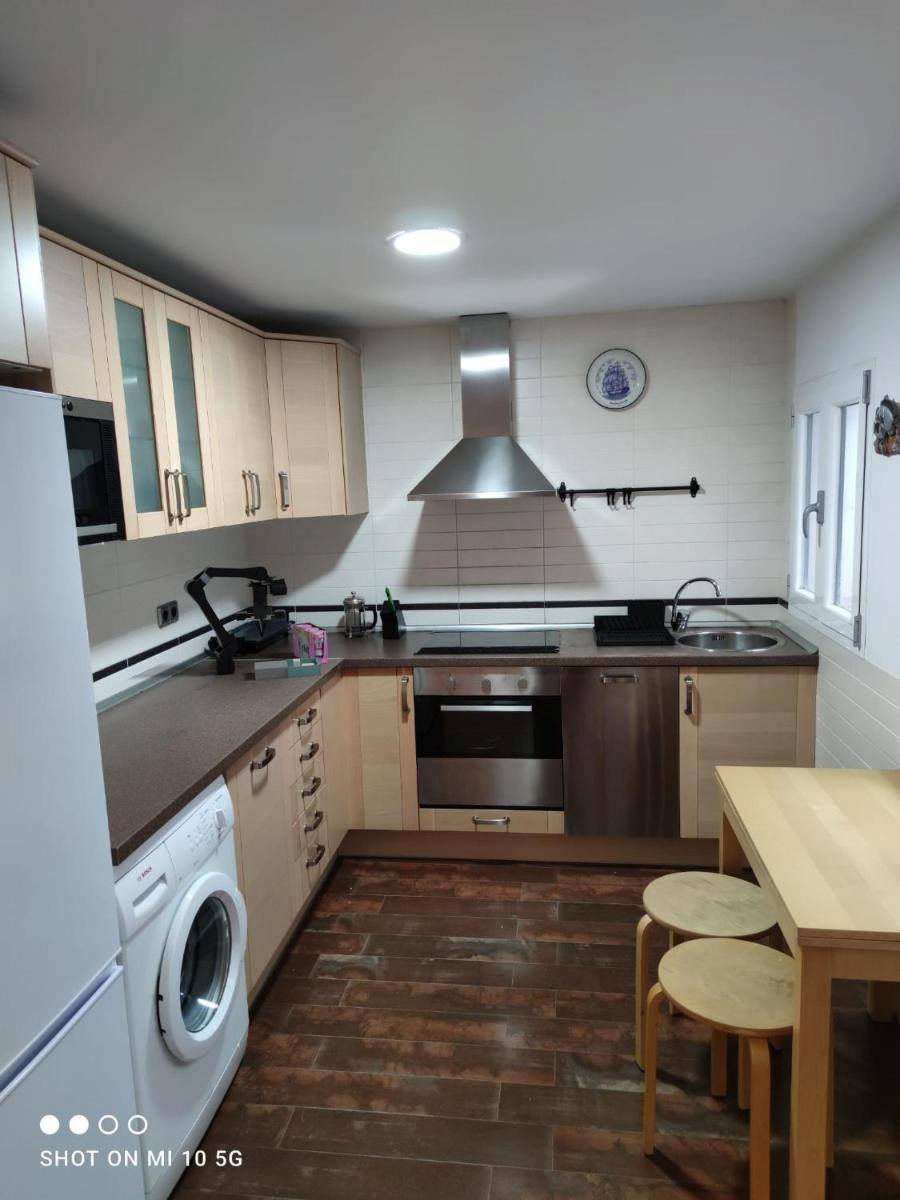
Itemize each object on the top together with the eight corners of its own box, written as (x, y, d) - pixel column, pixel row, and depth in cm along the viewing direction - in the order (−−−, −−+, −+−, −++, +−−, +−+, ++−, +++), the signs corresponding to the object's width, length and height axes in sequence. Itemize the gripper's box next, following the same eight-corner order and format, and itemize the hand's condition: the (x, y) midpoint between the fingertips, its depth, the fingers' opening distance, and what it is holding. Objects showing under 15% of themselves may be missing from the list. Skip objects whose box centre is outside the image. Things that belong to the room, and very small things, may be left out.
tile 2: (314, 665, 298) (314, 671, 298) (313, 663, 302) (313, 669, 303) (302, 666, 297) (302, 672, 297) (301, 663, 301) (302, 670, 302)
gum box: (329, 663, 314) (328, 630, 312) (310, 666, 311) (309, 632, 309) (311, 653, 335) (309, 622, 333) (293, 655, 332) (291, 623, 330)
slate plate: (255, 679, 290) (254, 669, 289) (254, 672, 301) (254, 662, 301) (288, 677, 293) (287, 666, 292) (286, 670, 304) (286, 660, 304)
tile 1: (293, 661, 296) (300, 661, 297) (293, 659, 301) (299, 658, 301) (294, 673, 297) (300, 672, 298) (293, 670, 301) (300, 670, 302)
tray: (288, 677, 292) (287, 667, 291) (286, 669, 305) (285, 659, 305) (320, 675, 295) (320, 664, 294) (317, 667, 308) (317, 657, 308)
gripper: (233, 601, 296) (236, 642, 298) (284, 599, 299) (286, 639, 302) (235, 597, 307) (238, 636, 309) (284, 595, 310) (286, 634, 313)
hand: (262, 636), depth 308 cm, fingers closed
